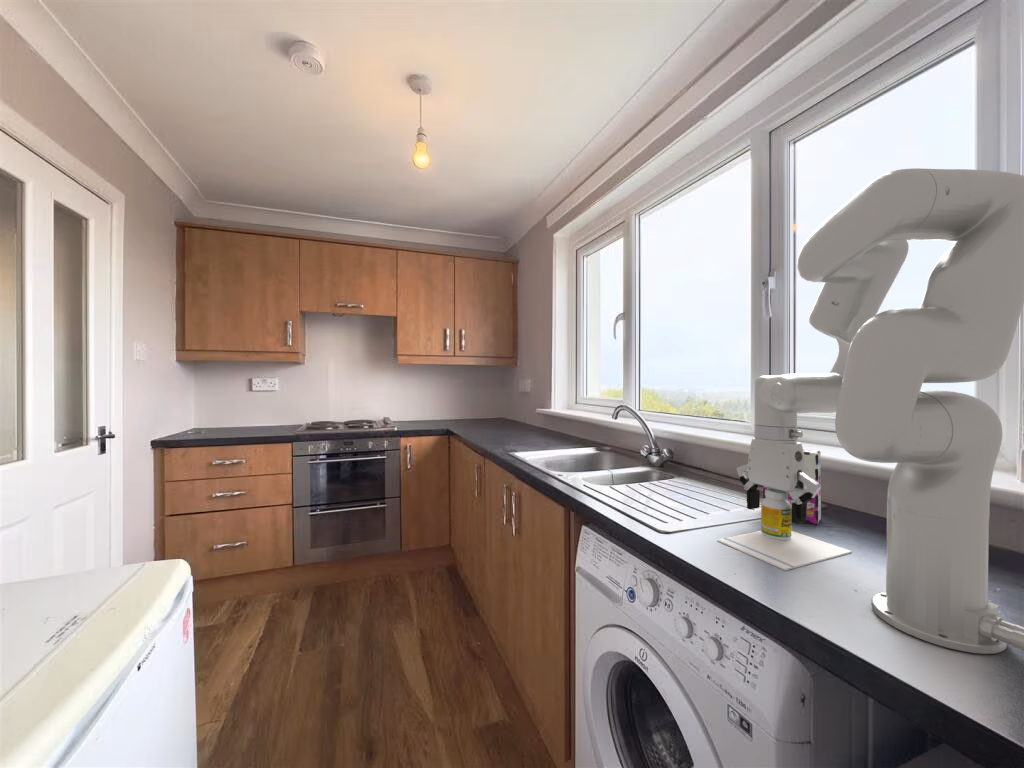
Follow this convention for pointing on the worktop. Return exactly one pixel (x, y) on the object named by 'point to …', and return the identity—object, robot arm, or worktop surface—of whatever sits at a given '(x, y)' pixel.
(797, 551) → the paper notebook
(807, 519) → the candy bar box
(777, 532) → the supplement bottle
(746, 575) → the worktop surface
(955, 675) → the worktop surface
